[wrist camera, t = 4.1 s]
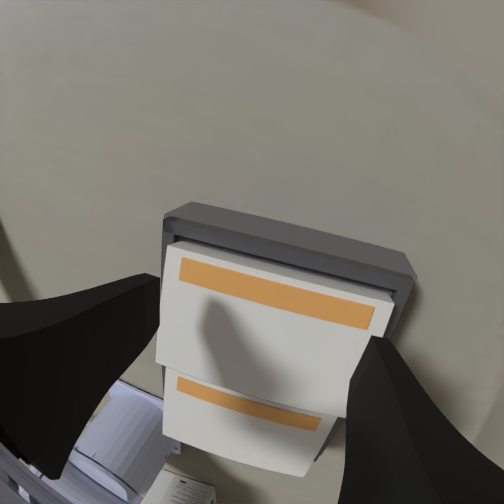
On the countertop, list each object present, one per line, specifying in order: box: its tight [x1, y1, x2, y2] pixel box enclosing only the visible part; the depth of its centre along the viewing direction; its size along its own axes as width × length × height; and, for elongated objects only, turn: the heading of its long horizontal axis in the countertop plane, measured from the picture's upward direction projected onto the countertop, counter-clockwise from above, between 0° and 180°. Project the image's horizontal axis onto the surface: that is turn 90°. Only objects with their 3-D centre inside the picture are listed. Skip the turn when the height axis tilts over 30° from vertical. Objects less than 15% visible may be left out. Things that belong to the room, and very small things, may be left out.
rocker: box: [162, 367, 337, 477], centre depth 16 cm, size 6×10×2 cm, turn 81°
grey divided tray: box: [161, 202, 417, 461], centre depth 17 cm, size 15×12×4 cm
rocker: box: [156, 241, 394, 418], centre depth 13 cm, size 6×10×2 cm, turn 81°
